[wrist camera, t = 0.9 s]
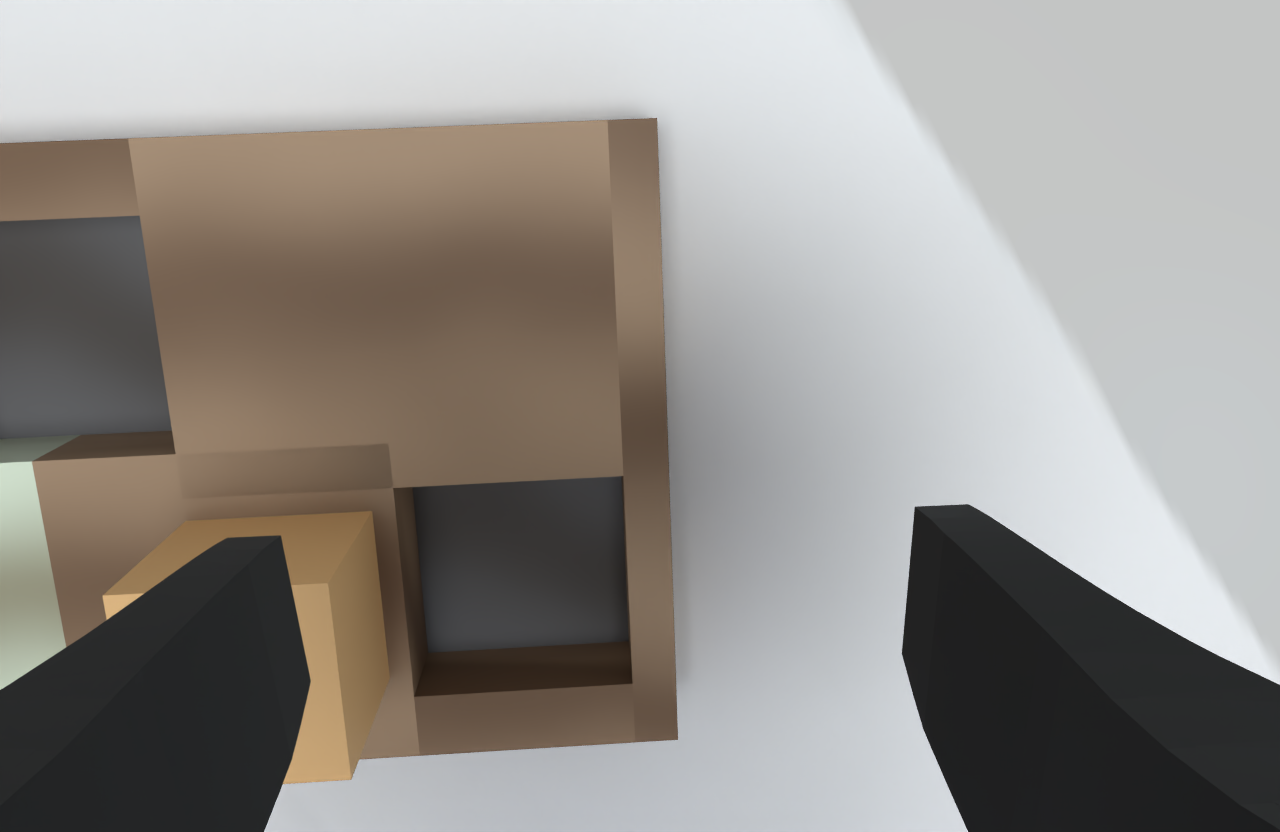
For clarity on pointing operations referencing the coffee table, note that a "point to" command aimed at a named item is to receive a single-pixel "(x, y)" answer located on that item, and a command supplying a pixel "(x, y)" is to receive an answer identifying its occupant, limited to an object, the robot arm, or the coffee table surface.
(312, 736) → the block
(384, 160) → the trap board
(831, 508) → the coffee table surface
